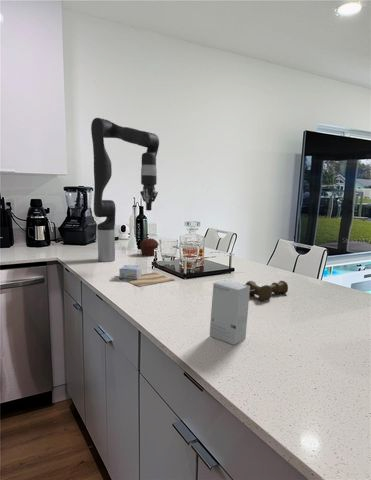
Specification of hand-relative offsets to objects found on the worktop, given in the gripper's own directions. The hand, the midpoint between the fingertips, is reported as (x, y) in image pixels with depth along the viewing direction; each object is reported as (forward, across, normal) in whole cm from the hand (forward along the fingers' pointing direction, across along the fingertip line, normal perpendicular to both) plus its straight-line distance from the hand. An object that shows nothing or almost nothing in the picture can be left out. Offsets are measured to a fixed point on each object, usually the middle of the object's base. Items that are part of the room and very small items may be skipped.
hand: (148, 210), depth 164 cm
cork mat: (+29, +20, -13) cm, 37 cm away
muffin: (+29, -28, +18) cm, 44 cm away
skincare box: (+29, +82, -26) cm, 91 cm away
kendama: (+29, +65, +11) cm, 72 cm away
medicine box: (+26, +9, -14) cm, 32 cm away
